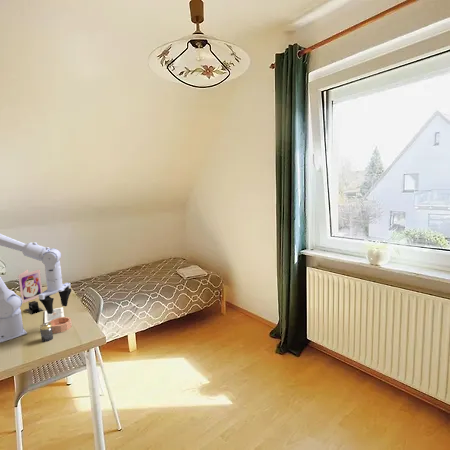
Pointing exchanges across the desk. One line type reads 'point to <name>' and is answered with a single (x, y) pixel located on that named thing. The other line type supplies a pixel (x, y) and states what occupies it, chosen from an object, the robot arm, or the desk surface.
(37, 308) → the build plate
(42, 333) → the battery
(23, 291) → the greeting card
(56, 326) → the peach round shallow bowl
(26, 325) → the desk surface
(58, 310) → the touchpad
